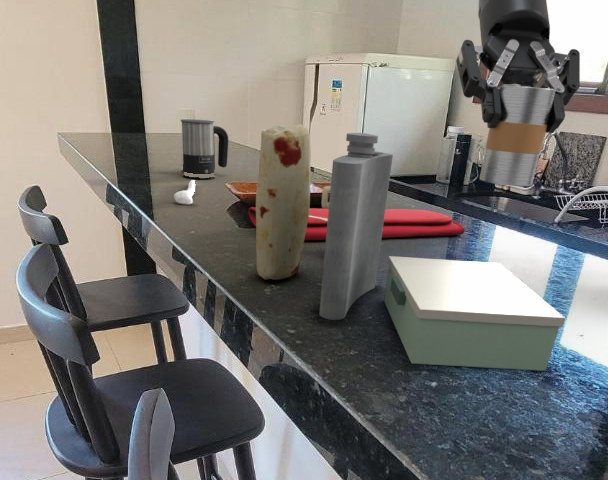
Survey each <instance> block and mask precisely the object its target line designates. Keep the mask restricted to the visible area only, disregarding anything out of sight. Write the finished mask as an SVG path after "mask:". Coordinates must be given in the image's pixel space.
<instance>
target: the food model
mask: <svg viewBox="0 0 608 480" xmlns="http://www.w3.org/2000/svg"><path fill="white" fill-rule="evenodd" d="M260 134H261V136H260V148H259V149H260V150H259V159H258V160H259V161H258V173H257V174H258V175H257V184H256V191H255V207H256V227H255V228H256V229H255V231H256V232H255V233H256V234H255V235H256V237H255V238H256V239H255V240H256V241H255V243H256V244H255V245H256V247H255V249H256V252H255V253H256V270H257V275H258V276H259V277H261V278H262V279H264V280H265V281H266V280H267V281H268V280H273V281H279V280H282V279H286V278H287V279H288V278H289V277H292V276H294V275H295V274H296V273H297V272H299V269H300V265H301V264H300V263H301V258H302V252H303V248H304V242H305V241H304V238H305V233H306V228H307V222H308V217H309V208H311V207H310V206H311V176H312V175H311V156H312V155H311V152H312V151H311V132H310V131H309V129H308V128H307V127H305V126H304V125H303V124H301V123H298V124H294V125H291V126H281V125H274V126H272V127H269V128H267V129H265V128H263V129H262V131H261V133H260Z"/></svg>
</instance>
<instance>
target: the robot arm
mask: <svg viewBox="0 0 608 480" xmlns="http://www.w3.org/2000/svg"><path fill="white" fill-rule="evenodd" d="M477 16H478V17H477V18H478V20H479V33H480V42H481V45H475V44H474V42H473V41H472V40H471V39H464V40H463V42H462V45H461V47H460V50H459V53H458V54H457V57H456V60H455V62H456V66H457V72H458V75H459V80H460V86H461V89H462V94H463V96H464V97H465V98H467V99H471V98H473V97H475V98H478V101H479V102H480V108H481V116H482V117H481V118H482V122H483V123H484V124H485V123H486V127H487V128H488V129H489V128H495V127H496V125H497V123H498V122H499V120H500V118H501V102H500V91H499V89H498V87H499V84H500V82H501V83H502V85H507V86H511V85H517V86H521V87H535V88H547V89H555V90H556V92H555V96H554V100H553V104H552V108H551V112H550V115H549V119H548V123H547V129H546V133H547V134H554V133H555V132H556V130H557V129H558V128H559V127H560V126H561V124H563V122H564V120H565V118H566V112H565V106H567V105H568V104H569V103H570V102H571V100H572V98H573V97H574V96H575V94H576V92H577V91H579V89H580V87H581V82H580V81H581V53H580V51H579V50H578V49H576V48H571V49H570V50H569V52H568V53H567V54H565V53H560V52H556V50H555V48H554V47H553V45H552V44H551V42H550V37H551V35H550V34H551V25H550V18H549V9H548V3H547V0H478V12H477ZM479 61H480V63H481V64H482V65H483V66H484V67H485V68H486V69H487V70H488V72H489V73H490V74H489V77H488V78H487V79H484V78H482V74H481V69H480V66H479V65H480V64H479ZM546 133H545V134H546Z"/></svg>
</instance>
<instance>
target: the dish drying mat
mask: <svg viewBox="0 0 608 480" xmlns="http://www.w3.org/2000/svg"><path fill="white" fill-rule="evenodd" d="M328 211H329V208H316V207H315V208H314V207H313V208H311V207H309V217H308V222H307V228H306V233H305V238H304V242H305V241H326V234H327V223H328ZM247 213H248V216H249V218H250V219H249V220H250V221H251V223H252V224H253V225H254V227H255V228H256V206H255V207H254V206H251V207H249V208H248V212H247ZM465 231H466V230H465V226H463V225H462V224H460V223H458V222H456V221H453V217H452V216H450V215H448V214H444V213H441V212H438V211H433V210H428V209H427V210H425V209H408V208H390V209H388V208H386V209H385V216H384V223H383V231H382V238H381V239H390V238H391V239H392V238H407V237H408V238H409V237H410V238H411V237H436V236H437V237H439V236H440V237H441V236H461V235H463V234H464V233H465Z"/></svg>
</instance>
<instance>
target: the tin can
mask: <svg viewBox="0 0 608 480" xmlns="http://www.w3.org/2000/svg"><path fill="white" fill-rule="evenodd" d="M497 89H499V91H500V102H501V118H500V120H499V122H498V123H497V125H496V127H495V128H488V133H487V138H486V143H485V151H484V155H483V159H482V164H481V169H480V174H479V180H480V181H482V182H485V183H489V184H493V185H494V184H495V185H501V186H508V187H509V186H511V187H512V186H513V187H531V186H532V185H533V182H534V179H535V174H536V169H537V167H538V162H539V159H540V155H541V152H542V148H543V145H544V141H545V136H546V129H547V123H548V119H549V115H550V112H551V108H552V104H553V100H554V96H555V92H556V90H555V89H550V88H548V89H547V88H535V87H526V86H521V85H498V87H497Z"/></svg>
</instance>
